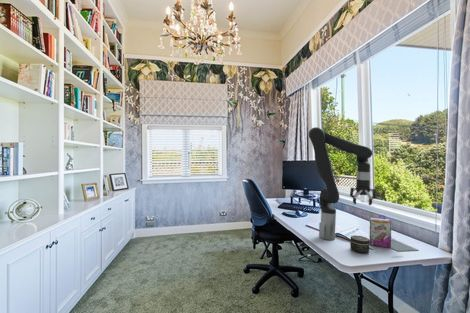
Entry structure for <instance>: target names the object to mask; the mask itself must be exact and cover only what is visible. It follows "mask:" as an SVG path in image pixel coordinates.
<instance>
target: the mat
mask: <svg viewBox="0 0 470 313" xmlns="http://www.w3.org/2000/svg"><path fill="white" fill-rule="evenodd" d="M390 249H391V250H393V251H396V252H398V253H399V252H419V249H417V248H415V247H413V246H410V245H408V244H406V243H403V242H401V241H399V240H396V239H394V238H393V239H392V238H391V248H390Z"/></svg>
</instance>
